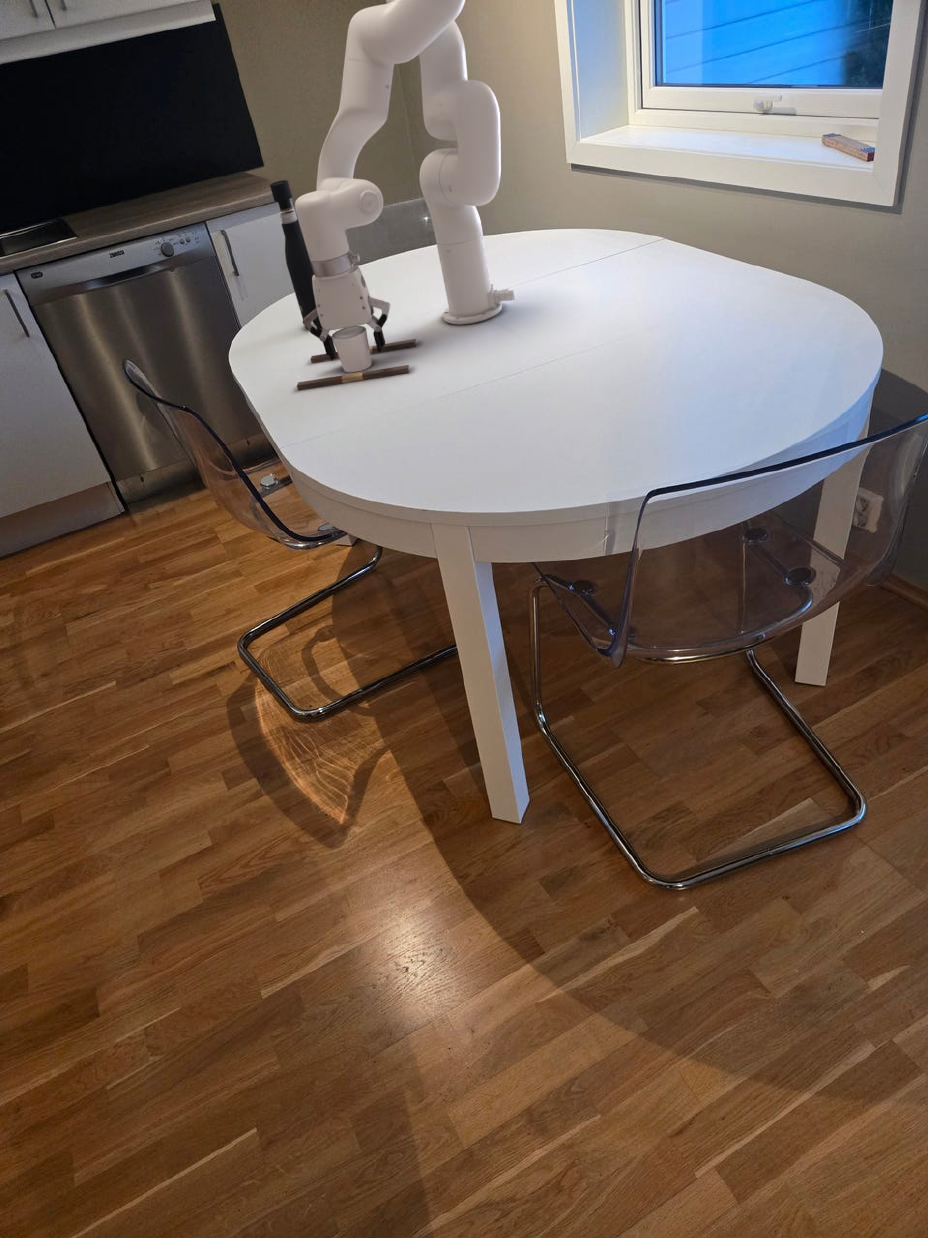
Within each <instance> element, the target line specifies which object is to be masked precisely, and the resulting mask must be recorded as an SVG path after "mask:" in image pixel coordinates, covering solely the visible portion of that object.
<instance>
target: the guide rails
mask: <svg viewBox="0 0 928 1238" xmlns="http://www.w3.org/2000/svg"><path fill="white" fill-rule="evenodd" d="M414 347H417V339H416V338H412V339H407V340H401V341H394V342H388V343H385V346H383V350H382V352H381V353H383V352H389V351H390V352H391V351H395V350H401V349H402V350H403V349H408V348H414ZM369 350H370V355H371V354H376V353H377V354H378V353H379V352H378V350H377V346H376V345H371V346H370V345H369ZM336 353H337V351H336ZM335 360H340V358H339V355H338V353H337V355H336V357H335V359H334V360H333V361H335ZM329 361H331V360H330V357H329V355H328V356H327V354H326V353H321V354H315V355H311V356H310V362H311V364H316V363H321V362H322V363H323V362H329ZM402 374H410V364H404V365H399V366H392V367H386V368H380V369H372V370H367V371H359V372H352V373H348V374H343V375H342V374H341V375H335V376H330V377H324V378H316V379H311V380H305V381H298V382H297V384H296V389H297V391H302V390H308V389H314V388H321V387H327V386H335V385H339V384H347V383H354V382H358V381H359V382H360V381H365V380H371V379H378V378H383V377H390V376H396V375H402Z"/></svg>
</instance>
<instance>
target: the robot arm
mask: <svg viewBox="0 0 928 1238" xmlns="http://www.w3.org/2000/svg"><path fill="white" fill-rule="evenodd" d="M385 2H386V3H384V4H378V5H373V6H369V7H365V8H362V9H360V10H358V11H357V12H356V13H354V15H353V16H352V17H351V19H350V22H349V24H348V27H347V28H348V29H347V36H346V45H345V52H344V53H345V54H344V63H343V64H344V65H343V74H342V81H341V92H340V99H339V101H340V102H339V107H338V111H337V113H336V115H335V117H334V119H333V121H332V123H331V125H330V128H329V130H328V133H327V135H326V137H325V139H324V142H323V144H322V148H321V150H320V154H319V157H318V165H317V175H316V187H315V189H316V190H314V191H310V192H307V193H305V194H302V195H300V196H299V197H298V198H297V199H295V202H294V209H295V210H294V211H295V213H296V214H295V215H296V217H297V219H298V220H299V224H300V227H301V231H302V234H303V238H304V241H305V244H306V248H307V251H308V255H309V258H310V262H311V265H312V268H313V272H314V275H313V277H312V283H313V292H314V297H315V303H316V308H315V309H314V310H313V311H312V312H311V313H310V314H308V315H307V316H306V317H305V318H304V319H303V318H302V324H303V325H304V327H305V326H306V327H307V329H308V330H307V329H306V330H307V331H309V332H310V334H311V335H312V336H314V337H316V338H317V339H319V341H320V342H321V343H322V344H323V347H324V351H325V354H327V356H328V355H329V357H330V360H329V361H331V362H332V361H335V360H336V359H335V357H336V355H337V353H336V352H337V350H336V347H335V345H334V342H333V339H332V337H331V336H332V335H330V331H337V330H340V329H343V328H347V327H353V326H364V325H368V326H369V327H370V328H371V329H372V330H373V333H372V335H373V338H374V343H375V346H377V350H378V353H383V352H382V350H383V346H385V344H386V340H385V336H384V335H385V334H384V332H383V327H384V325H385V324H386V322H387V321H388V317H389V313H390V310H391V303H390V302H387V301H384V300H381V299H379V298H374V297H372V296H371V294H370V291H369V288H368V286H367V283H366V280H365V278H364V275H363V273H362V272H363V271H361V268H360V267H359V265H355V264H356V263H358V262H361V257H360V254H359V253H353V252H352V250H351V249H350V246H349V242H348V238H347V234H346V230H348V229H353V228H358V227H363V226H367V225H369V224H371V223H373V222H375V221H376V220H378V218H379V217H380V215H381V214H382V211H383V210H384V209H383V208H384V196H383V194H382V192H381V189H380V188H379V187H378V186H377V185H376V184H375V183H373V182H372V181H370V180H367V179H363V178H354V173H355V167H356V164H357V160H358V157H359V155H360V153H361V151H362V149H363V147H364V146H365V144H366V143H367V142H368V141H369V140H370V139H371V138H372V137H373V136H374V135H375V134H376V133H377V132H378V131H379V130H380V129H381V128H382V127H383V126H384V125H385V123H386V122H387V120H388V117H389V109H390V108H389V107H390V100H391V93H392V83H393V76H394V69H395V68H394V67H395V65H398V64H399V65H400V64H406V63H408V62H410V61H411V60H413V59H415V58H416V57H418V58H419V67H420V84H421V85H420V86H421V100H422V101H421V103H422V116H423V117H422V118H423V123H424V124H423V125H424V127H425V130H426V131H427V133H428V134H429V135H430V136H431V137H433V138H435V139H436V140H441V141H456V143H457V145H456V146H457V147H456V148H454V147H453V148H452V147H451V148H450V147H448V148H447V147H446V148H445V147H444V148H438V149H436V150H433V151H431V152H430V153H429V154H427V155H426V156H425V158H423V161H422V163H421V165H420V169H419V175H418V176H419V179H418V180H419V186H420V190H421V193H422V196H423V198H424V201H425V204H426V207H427V209H428V212H429V215H430V219H431V223H432V227H433V232H434V238H435V241H436V247H437V253H438V258H439V264H440V269H441V274H442V279H443V284H444V290H445V295H446V300H447V305H448V307H447V308H446V309H444V310H443V313H442V318H443V321H444V322H446V323H448V324H450V325H468V324H476V323H480V322H483V321H487V320H488V319H491V318H493V317H495V316H497V315H498V314H499V313H500V312H501V311H502V309H503V305H502V302H509V301H515V300H516V299H515V292H514V289H513V290H509V288H503V289H500V290H498V289H495V287H494V284H493V283H491V277H490V271H489V264H488V257H487V253H486V245H485V240H484V239H485V238H484V234H483V227H482V222H481V218H480V215H479V212H478V209H477V207H481V206H484V205H487V204H489V203H490V202H492V200H493V199H494V198H495V196H496V195H497V193H498V191H499V187H500V183H501V177H502V175H501V174H502V150H501V148H502V147H501V146H502V145H501V144H502V143H501V142H502V141H501V139H502V138H501V137H502V136H501V113H500V106H499V103H498V100H497V97H496V95H495V93H494V91H493V89H491V87H490V86H489V85H487V84H486V83H485V82H483V81H481V80H476V79H469V78H468V69H467V67H468V66H467V56H466V46H465V42H464V38H463V35H462V33H461V30H460V28H459V26H458V24H457V22H456V19H457V18H458V16H459V15H460V14H461V12H462V10H463V9H464V5H465V3H466V0H385ZM375 308H376V309H379V310H381V315H380V317H379V318H378V317H377V316H376V315H374V314H375ZM318 316H319V320H320V323H321V326H322V329H320V328H319V327H317V326H316V325H314V323H313V320H314V319H315V318H317V317H318ZM334 359H335V360H334Z"/></svg>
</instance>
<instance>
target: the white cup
mask: <svg viewBox="0 0 928 1238" xmlns="http://www.w3.org/2000/svg"><path fill="white" fill-rule="evenodd" d="M330 336H331V337H332V339H333V343H334V346H335V350H336V352H337V353H338V355H339V358H340V359H339V360H340V364H341V366H342V368H343V371H344V372H346V373H359V372H362V371H364V370H366V369H368V368H370V367H371V366H372V358H371V354H370V350H369V347H370V345H369V339H368V332H367V328H366V327H365V326H364V325H358V326H353V327H347V328H342V329H337V330H335V332H333V333H332V334H331V335H330Z"/></svg>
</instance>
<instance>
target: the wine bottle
mask: <svg viewBox="0 0 928 1238" xmlns="http://www.w3.org/2000/svg"><path fill="white" fill-rule="evenodd" d="M269 188H270V191H271V194H272V198H273V201H274V202H275V203H277V204H278V207H279V211H280V212H281V213H280V216H279V218H280V219H281V220H280V221H281V222H282V223H281V229H282V231H283V234H284V235H283V236H284V255H285V263H286V266H287V270H288V274H289V277H290V281H291V285H292V288H293V291H294V294H295V297H296V301H297V304H298V307H299V311H300V315H301V318H302V320H303V319H304V318H305V317H306V316H307V315H308V314H310V313H311V312H312V311H313V310H314V309H315V308H316V303H315V297H314V292H313V283H312V277H313V275H314V272H313V268H312V265H311V262H310V258H309V255H308V251H307V248H306V244H305V241H304V238H303V234H302V231H301V227H300V224H299V220H298V217H297V214H296V211H295V210H292V209H293V206H292V202H291V199H293V194H292V190H291V187H290V184H289V181H288V179H284V180H278V181H274V182H271V183H270V184H269ZM313 323H314V325H316V326H317V327H319V328H320V329H322V330H323V328H322V326H321V323H320V320H319V316H318V317H317V318H315V319H314V320H313ZM304 328H305V330H306V331H309V330H308V329H307V327H306V326H305V325H304Z"/></svg>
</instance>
